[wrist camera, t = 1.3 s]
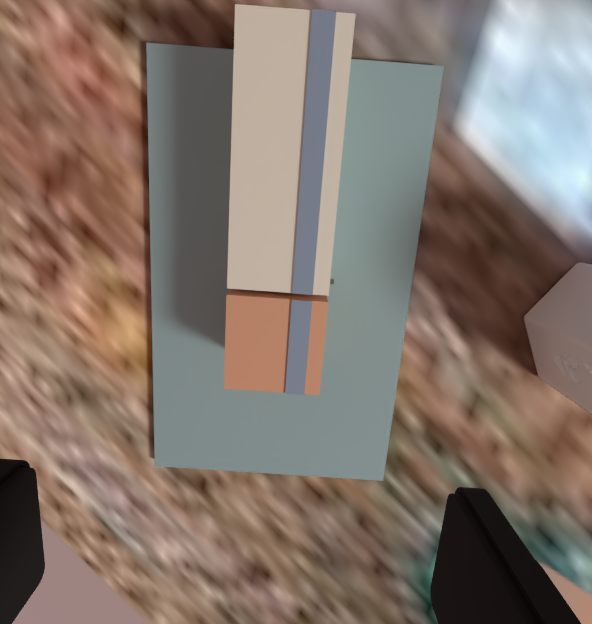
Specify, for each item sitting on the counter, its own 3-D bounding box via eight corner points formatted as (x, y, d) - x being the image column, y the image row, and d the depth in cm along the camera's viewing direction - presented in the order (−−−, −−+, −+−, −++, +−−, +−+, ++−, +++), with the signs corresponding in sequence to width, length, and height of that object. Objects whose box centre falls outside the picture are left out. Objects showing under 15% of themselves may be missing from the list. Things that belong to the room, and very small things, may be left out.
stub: (240, 277, 24) (226, 295, 19) (322, 283, 24) (328, 302, 19) (237, 354, 26) (223, 389, 21) (315, 360, 26) (319, 396, 21)
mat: (150, 46, 22) (145, 41, 21) (439, 70, 22) (444, 65, 21) (157, 460, 28) (154, 466, 28) (381, 475, 29) (383, 481, 28)
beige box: (249, 50, 21) (234, 2, 16) (342, 58, 21) (355, 12, 16) (241, 272, 24) (226, 288, 19) (322, 278, 24) (328, 296, 19)
